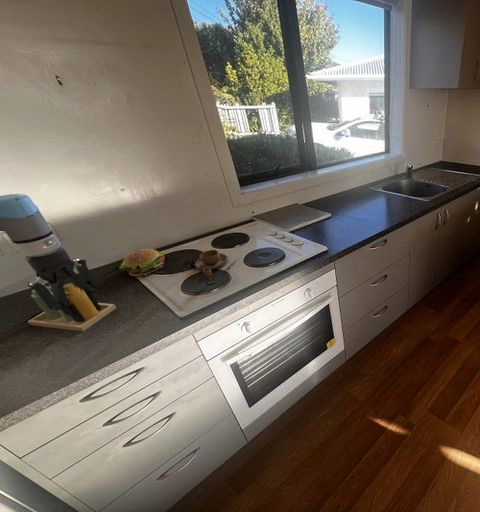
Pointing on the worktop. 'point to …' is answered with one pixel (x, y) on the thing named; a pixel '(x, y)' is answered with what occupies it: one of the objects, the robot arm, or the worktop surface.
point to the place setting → (211, 262)
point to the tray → (72, 325)
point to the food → (143, 262)
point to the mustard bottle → (80, 301)
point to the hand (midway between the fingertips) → (88, 315)
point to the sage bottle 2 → (67, 318)
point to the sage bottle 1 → (45, 306)
